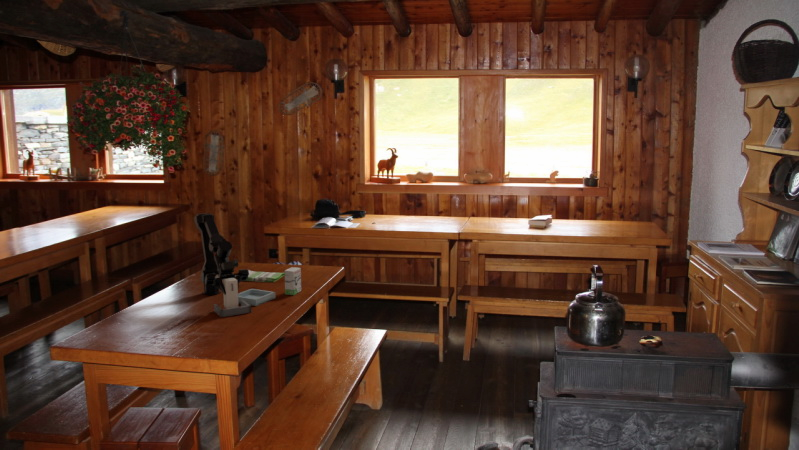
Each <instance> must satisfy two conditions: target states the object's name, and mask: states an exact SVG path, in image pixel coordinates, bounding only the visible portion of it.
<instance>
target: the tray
mask: <svg viewBox="0 0 799 450" xmlns="http://www.w3.org/2000/svg"><path fill="white" fill-rule="evenodd" d="M275 299H276V291H270V290H265V289H262V290H261V289H257V288H250V289H247V290H244V291H240V292H238V304H240V305H241V300H244V301H245V302H247V303H248V304H249V305H251V306H254V307H257V306H261V305H263V304H265V303H267V302H270V301H272V300H275Z"/></svg>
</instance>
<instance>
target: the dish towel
mask: <svg viewBox="0 0 799 450" xmlns="http://www.w3.org/2000/svg"><path fill="white" fill-rule="evenodd" d="M247 270H248V271H249V275H248V278H247V280H244V281H243V282H257V283H258V282H259V283H275V282H277V281H279V280H280V279H281V278H283V277H285V272H269V271H268V272H266V271H255V270H254V271H253V270H250V269H247Z"/></svg>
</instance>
